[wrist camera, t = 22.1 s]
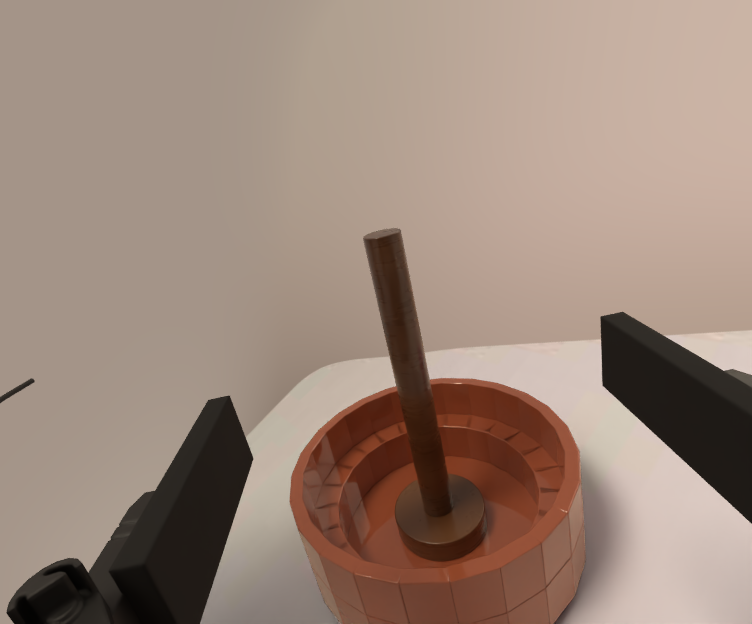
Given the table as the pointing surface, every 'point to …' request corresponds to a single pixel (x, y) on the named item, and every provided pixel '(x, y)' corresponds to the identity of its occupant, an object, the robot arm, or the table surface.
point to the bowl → (463, 458)
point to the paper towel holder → (421, 420)
